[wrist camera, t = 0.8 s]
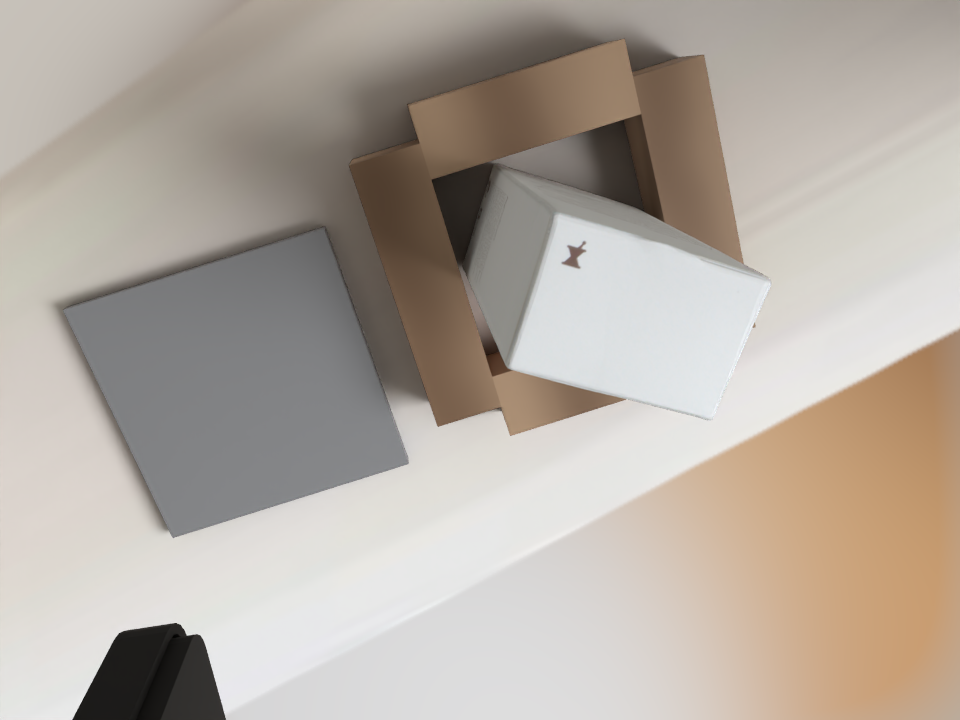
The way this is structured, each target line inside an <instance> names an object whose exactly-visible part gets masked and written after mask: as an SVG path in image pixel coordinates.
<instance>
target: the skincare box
mask: <svg viewBox="0 0 960 720" xmlns="http://www.w3.org/2000/svg"><path fill="white" fill-rule="evenodd" d="M463 269H464V271H465V273H466V276H467V278H468V280H469V283H470V285H471V287H472V289H473V292H474V294H475V296H476V299H477V301H478V303H479V306H480V308H481V310H482V313H483V315H484V317H485V319H486V322H487V324H488V327H489V329H490V331H491V333H492V335H493V338H494V340H495V342H496V344H497V347H498V349H499V352H500V354H501V356H502V359H503V361H504V363H505V365H506V367H507V368H508V369H510V370H514V371H518V372H521V373H525V374H529V375H533V376H536V377H540V378H544V379H548V380H551V381H555V382H559V383H562V384H566V385H570V386H574V387H578V388H581V389H586V390H590V391H594V392H598V393H602V394H606V395H611V396H615V397H619V398H623V399H628V400H632V401H636V402H640V403H644V404H648V405H652V406H656V407H660V408H663V409H667V410H671V411H675V412H679V413H684V414H687V415H691V416H695V417H699V418H702V419H705V420H712V419H713V417H714V415H715V413H716V410H717V407H718V405H719V403H720V400H721V398H722V396H723V393H724V391H725V389H726V387H727V384H728V382H729V380H730V378H731V375H732V373H733V371H734V368H735V366H736V364H737V362H738V359H739V357H740V355H741V353H742V350H743V348H744V346H745V343H746V341H747V339H748V336H749V334H750V332H751V330H752V327H753V325H754V323H755V320H756V318H757V316H758V314H759V311H760V309H761V307H762V304H763V302H764V300H765V298H766V295H767V293H768V291H769V289H770V286H771V280H770V279H769V278H768V277H767V276H765V275H763V274H762V273H760V272H758V271H756V270H754V269H752V268H750V267H748V266H746V265H744V264H742V263H740V262H738V261H736V260H735V259H733V258H731V257H729V256H728V255H726V254H724V253H722V252H720V251H718V250H716V249H714V248H712V247H710V246H709V245H707V244H705V243H703V242H701V241H699V240H697V239H695V238H693V237H691V236H689V235H687V234H686V233H684V232H681V231H679V230H677V229H676V228H674V227H672V226H670V225H668V224H666V223H664V222H662V221H660V220H658V219H657V218H655V217H653V216H651V215H649V214H647V213H645V212H643V211H642V210H640V209H638V208H636V207H633V206H630V205H627V204H624V203H621V202H618V201H615V200H612V199H609V198H606V197H602V196H599V195H596V194H593V193H590V192H587V191H583V190H580V189H577V188H574V187H571V186H568V185H564V184H561V183H558V182H555V181H551V180H548V179H545V178H541V177H538V176H535V175H531V174H528V173H525V172H522V171H518V170H515V169H512V168H509V167H506V166H503V165H500V164H494V165H493V168H492V171H491V175H490V178H489V181H488V184H487V188H486V191H485V194H484V197H483V200H482V203H481V206H480V209H479V213H478V216H477V220H476V223H475V227H474V230H473V233H472V237H471V240H470V243H469V247H468V250H467V253H466V256H465V259H464V262H463Z"/></svg>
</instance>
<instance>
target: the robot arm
mask: <svg viewBox="0 0 960 720" xmlns="http://www.w3.org/2000/svg"><path fill="white" fill-rule="evenodd" d="M72 720H226V718H225V714H224V711H223V707H222V704H221V700H220V696H219V693H218V689H217V686H216V682H215V678H214V675H213V671H212V668H211V664H210V660H209V657H208V653H207V650H206V646H205V644H204V641H203V639H202V638H201V636H200V635H197V634H196V635H189V636H186V633H185V631H184V629H183V628H182V626H181V625H179V624H177V623H173V624H167V625H160V626H153V627H147V628H140V629H134V630H127V631H123V632H121V633H119V634H118V636H117V637H116V638H115V640H114V641H113V643H112V645H111V647H110V649H109V651H108V653H107V655H106V657H105V659H104V660H103V662H102V664H101V666H100V668H99V670H98V672H97V674H96V676H95V678H94V679H93V681H92V683H91V685H90V687H89V689H88V691H87V693H86V695H85V697H84V698H83V700H82V702H81V704H80V706H79V708H78V710H77V712H76V714H75V716H74V718H73V719H72Z"/></svg>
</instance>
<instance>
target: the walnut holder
mask: <svg viewBox="0 0 960 720" xmlns="http://www.w3.org/2000/svg"><path fill="white" fill-rule="evenodd" d="M407 106H408V109H409V112H410V116H411V119H412V122H413V125H414V129H415V132H416V135H417V138H418V139H416V140H413V141H410V142H407V143H403V144H400V145H397V146H394V147H391V148H387V149H384V150H381V151H378V152H375V153H371V154H368V155H365V156H362V157H359V158H355V159H352V161H351V163H350V165H349V167H350V170H351V173H352V176H353V179H354V182H355V185H356V188H357V191H358V194H359V197H360V200H361V203H362V206H363V208H364V211H365V214H366V217H367V220H368V223H369V226H370V229H371V232H372V235H373V238H374V241H375V244H376V247H377V250H378V253H379V256H380V258H381V261H382V264H383V267H384V270H385V273H386V276H387V279H388V282H389V285H390V288H391V291H392V294H393V297H394V300H395V303H396V305H397V308H398V311H399V314H400V317H401V320H402V323H403V326H404V329H405V332H406V335H407V338H408V341H409V344H410V347H411V350H412V352H413V355H414V358H415V361H416V364H417V367H418V370H419V373H420V376H421V379H422V382H423V385H424V388H425V391H426V394H427V397H428V400H429V402H430V405H431V408H432V411H433V414H434V417H435V420H436V423H437V426H438V427H439V426H442V425H445V424H448V423H451V422H455V421H458V420H461V419H464V418H467V417H470V416H474V415H477V414H480V413H483V412H486V411H490V410H493V409H496V408H499V407H501V410H502V413H503V416H504V419H505V422H506V424H507V427H508V430H509V433H510V436H512V435H515V434H518V433H521V432H524V431H528V430H531V429H534V428H537V427H540V426H543V425H547V424H550V423H553V422H556V421H559V420H563V419H566V418H569V417H572V416H575V415H578V414H582V413H585V412H588V411H591V410H594V409H598V408H601V407H604V406H607V405H610V404H614V403H617V402H620V401H623V400H626V399H623V398H619V397H615V396H611V395H606V394H602V393H598V392H594V391H590V390H586V389H581V388H578V387H574V386H570V385H566V384H562V383H559V382H555V381H551V380H548V379H544V378H540V377H536V376H533V375H529V374H525V373H521V372H518V371H514V370H510V369H508V368H507V367H506V365H505V363H504V361H503V359H502V356H501V354H500V352H497V353H494V354H491V355H487V356H486V355H485V352H484V349H483V346H482V342H481V339H480V336H479V333H478V329H477V326H476V323H475V320H474V316H473V313H472V310H471V307H470V304H469V300H468V297H467V294H466V291H465V287H464V284H463V281H462V278H461V274H460V271H459V268H458V265H457V261H456V258H455V255H454V252H453V249H452V245H451V242H450V239H449V236H448V232H447V229H446V226H445V223H444V219H443V216H442V213H441V210H440V206H439V203H438V200H437V197H436V193H435V190H434V187H433V184H432V181H431V180H432V179H435V178H438V177H441V176H445V175H448V174H451V173H454V172H457V171H461V170H464V169H467V168H470V167H473V166H477V165H480V164H483V163H486V162H489V161H493V160H496V159H499V158H502V157H505V156H509V155H512V154H515V153H518V152H521V151H525V150H528V149H531V148H534V147H537V146H541V145H544V144H547V143H550V142H553V141H557V140H560V139H563V138H566V137H569V136H573V135H576V134H579V133H582V132H585V131H589V130H592V129H595V128H598V127H601V126H605V125H608V124H611V123H614V122H617V121H621V120H624V123H625V128H626V132H627V137H628V141H629V145H630V150H631V154H632V159H633V163H634V168H635V172H636V176H637V181H638V185H639V190H640V194H641V199H642V203H643V207H644V212H645V213H647V214H649V215H651V216H653V217H655V218H657V219H658V220H660V221H662V222H664V223H666V224H668V225H670V226H672V227H674V228H676V229H677V230H679V231H681V232H684V233H686V234H687V235H689V236H691V237H693V238H695V239H697V240H699V241H701V242H703V243H705V244H707V245H709V246H710V247H712V248H714V249H716V250H718V251H720V252H722V253H724V254H726V255H728V256H729V257H731V258H733V259H735V260H736V261H738V262H740V263H742V264H744V263H743V258H742V253H741V248H740V242H739V237H738V232H737V226H736V221H735V216H734V211H733V205H732V200H731V195H730V190H729V184H728V179H727V174H726V168H725V163H724V158H723V153H722V147H721V142H720V137H719V132H718V126H717V121H716V116H715V111H714V105H713V100H712V95H711V89H710V84H709V79H708V74H707V68H706V63H705V58H704V55H697V56H687V57H679V58H675V59H672V60H669V61H666V62H663V63H659V64H656V65H653V66H650V67H647V68H643V69H640V70H637V71H634V72H632V70H631V65H630V61H629V56H628V52H627V47H626V43H625V39H621V40H616V41H611V42H606V43H603V44H600V45H596V46H593V47H590V48H587V49H584V50H580V51H577V52H574V53H571V54H568V55H564V56H561V57H558V58H555V59H552V60H548V61H545V62H542V63H539V64H536V65H532V66H529V67H526V68H523V69H520V70H516V71H513V72H510V73H507V74H504V75H500V76H497V77H494V78H491V79H488V80H484V81H481V82H478V83H475V84H471V85H468V86H465V87H462V88H459V89H455V90H452V91H449V92H446V93H443V94H439V95H436V96H433V97H430V98H427V99H423V100H420V101H417V102H414V103H411V104H407ZM754 327H755V323H754V325H753V327H752V328H754Z"/></svg>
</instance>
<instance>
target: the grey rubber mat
mask: <svg viewBox="0 0 960 720" xmlns="http://www.w3.org/2000/svg"><path fill="white" fill-rule="evenodd" d="M63 312H64V314H65V316H66V318H67V320H68V322H69V324H70V326H71V328H72V330H73V332H74V334H75V337H76V339H77V341H78V343H79V345H80V347H81V349H82V351H83V353H84V355H85V357H86V359H87V361H88V363H89V366H90V368H91V370H92V372H93V374H94V376H95V378H96V380H97V382H98V384H99V386H100V388H101V390H102V392H103V395H104V397H105V399H106V401H107V403H108V405H109V407H110V409H111V411H112V413H113V415H114V417H115V419H116V421H117V424H118V426H119V428H120V430H121V432H122V434H123V436H124V438H125V440H126V442H127V444H128V446H129V448H130V450H131V453H132V455H133V457H134V459H135V461H136V463H137V465H138V467H139V469H140V471H141V473H142V475H143V477H144V479H145V482H146V484H147V486H148V488H149V490H150V492H151V494H152V496H153V498H154V500H155V502H156V504H157V506H158V508H159V511H160V513H161V515H162V517H163V519H164V521H165V523H166V525H167V527H168V529H169V531H170V533H171V535H172V537H173V538H174V537H178V536H181V535H184V534H187V533H190V532H193V531H197V530H200V529H203V528H206V527H209V526H213V525H216V524H219V523H222V522H225V521H228V520H232V519H235V518H238V517H241V516H244V515H248V514H251V513H254V512H257V511H260V510H263V509H267V508H270V507H273V506H276V505H279V504H283V503H286V502H289V501H292V500H295V499H299V498H302V497H305V496H308V495H311V494H314V493H318V492H321V491H324V490H327V489H330V488H334V487H337V486H340V485H343V484H346V483H349V482H353V481H356V480H359V479H362V478H365V477H369V476H372V475H375V474H378V473H381V472H384V471H388V470H391V469H394V468H397V467H400V466H404V465H407V464H409V461H408V456H407V453H406V451H405V448H404V445H403V442H402V440H401V437H400V434H399V431H398V428H397V426H396V423H395V420H394V417H393V414H392V412H391V409H390V406H389V403H388V400H387V398H386V395H385V392H384V389H383V387H382V384H381V381H380V378H379V375H378V373H377V370H376V367H375V364H374V361H373V359H372V356H371V353H370V350H369V347H368V345H367V342H366V339H365V336H364V334H363V331H362V328H361V325H360V322H359V320H358V317H357V314H356V311H355V308H354V306H353V303H352V300H351V297H350V294H349V292H348V289H347V286H346V283H345V281H344V278H343V275H342V272H341V269H340V267H339V264H338V261H337V258H336V255H335V253H334V250H333V247H332V244H331V241H330V239H329V236H328V233H327V230H326V228H325V227H321V228H318V229H315V230H312V231H309V232H305V233H302V234H299V235H296V236H293V237H289V238H286V239H283V240H280V241H277V242H273V243H270V244H267V245H264V246H261V247H257V248H254V249H251V250H248V251H245V252H241V253H238V254H235V255H232V256H229V257H225V258H222V259H219V260H216V261H213V262H209V263H206V264H203V265H200V266H197V267H193V268H190V269H187V270H184V271H181V272H177V273H174V274H171V275H168V276H165V277H161V278H158V279H155V280H152V281H149V282H145V283H142V284H139V285H136V286H133V287H129V288H126V289H123V290H120V291H117V292H113V293H110V294H107V295H104V296H101V297H97V298H94V299H91V300H88V301H85V302H81V303H78V304H75V305H72V306H69V307H67V308H65V309H64V310H63Z"/></svg>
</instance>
